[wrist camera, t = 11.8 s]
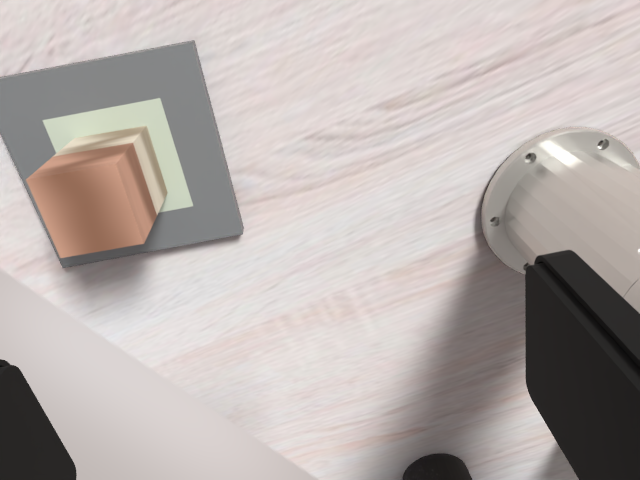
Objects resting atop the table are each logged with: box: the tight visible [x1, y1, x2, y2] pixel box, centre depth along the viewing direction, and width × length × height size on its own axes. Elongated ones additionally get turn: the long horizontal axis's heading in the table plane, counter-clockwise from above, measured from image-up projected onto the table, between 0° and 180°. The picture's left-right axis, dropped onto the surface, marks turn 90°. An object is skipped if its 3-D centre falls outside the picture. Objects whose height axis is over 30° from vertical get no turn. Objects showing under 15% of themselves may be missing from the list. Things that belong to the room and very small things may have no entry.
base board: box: [0, 40, 244, 268], centre depth 38 cm, size 14×14×1 cm
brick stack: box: [26, 126, 168, 258], centre depth 34 cm, size 5×5×8 cm
